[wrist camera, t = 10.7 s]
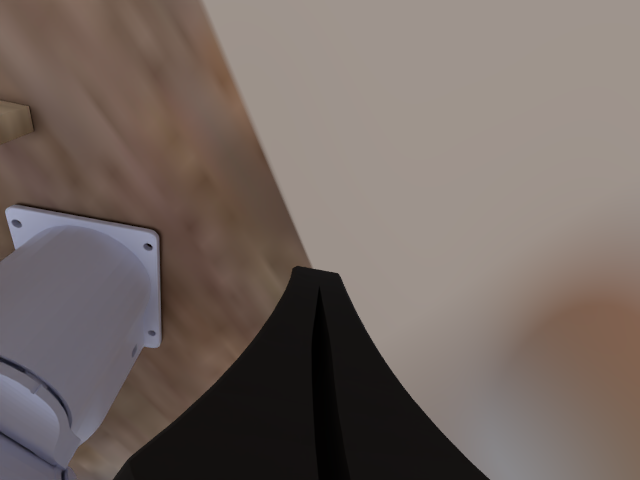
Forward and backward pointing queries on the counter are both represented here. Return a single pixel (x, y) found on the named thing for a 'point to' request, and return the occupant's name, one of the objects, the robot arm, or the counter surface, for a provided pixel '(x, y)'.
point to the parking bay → (14, 121)
